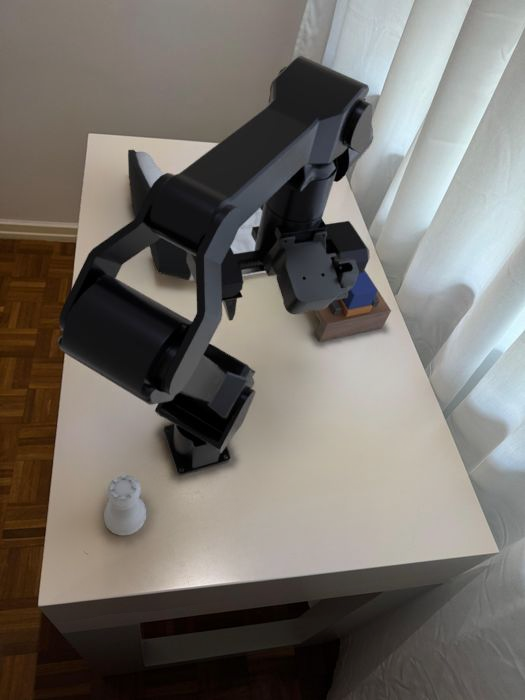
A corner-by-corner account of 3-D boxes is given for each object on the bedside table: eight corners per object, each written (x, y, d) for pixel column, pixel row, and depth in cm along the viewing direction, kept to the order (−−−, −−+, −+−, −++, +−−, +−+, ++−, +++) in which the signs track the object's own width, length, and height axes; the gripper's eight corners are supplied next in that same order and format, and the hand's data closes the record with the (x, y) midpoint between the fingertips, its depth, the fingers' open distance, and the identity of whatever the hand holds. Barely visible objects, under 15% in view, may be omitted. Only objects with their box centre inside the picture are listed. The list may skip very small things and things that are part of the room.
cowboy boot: (158, 258, 75) (329, 241, 83) (120, 122, 88) (272, 119, 96) (155, 301, 83) (311, 282, 91) (121, 171, 96) (261, 164, 104)
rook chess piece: (131, 489, 64) (130, 457, 58) (154, 520, 63) (155, 490, 56) (95, 513, 62) (90, 482, 56) (119, 545, 60) (116, 517, 54)
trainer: (370, 312, 81) (379, 292, 78) (345, 317, 80) (354, 297, 77) (342, 267, 86) (350, 246, 83) (318, 271, 85) (325, 250, 81)
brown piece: (382, 328, 85) (395, 303, 81) (319, 342, 82) (329, 317, 77) (349, 275, 91) (360, 249, 87) (289, 286, 87) (297, 260, 83)
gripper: (231, 279, 47) (212, 384, 59) (419, 247, 53) (367, 348, 65) (189, 192, 52) (180, 304, 65) (364, 172, 59) (326, 278, 71)
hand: (266, 310), depth 66 cm, fingers open, 9 cm apart
